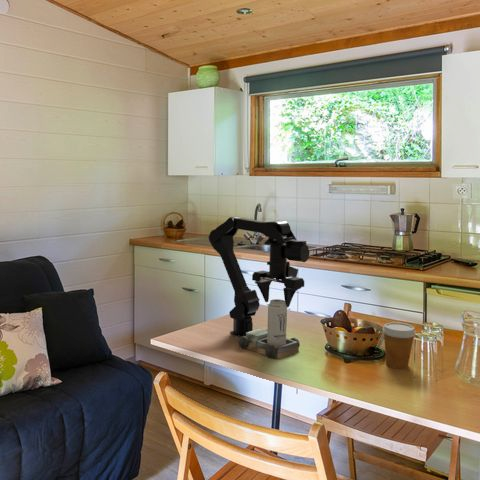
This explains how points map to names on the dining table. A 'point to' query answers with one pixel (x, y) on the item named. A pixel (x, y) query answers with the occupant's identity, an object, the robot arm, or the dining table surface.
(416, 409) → the dining table surface
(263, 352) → the chassis
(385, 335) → the disposable coffee cup
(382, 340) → the frog figurine
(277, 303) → the energy drink can
